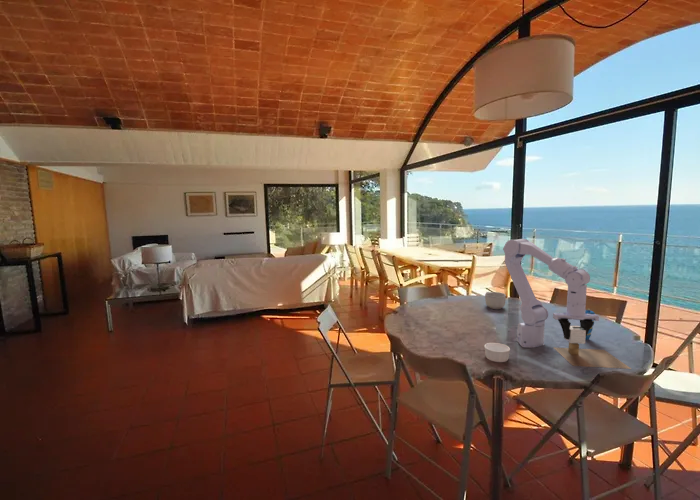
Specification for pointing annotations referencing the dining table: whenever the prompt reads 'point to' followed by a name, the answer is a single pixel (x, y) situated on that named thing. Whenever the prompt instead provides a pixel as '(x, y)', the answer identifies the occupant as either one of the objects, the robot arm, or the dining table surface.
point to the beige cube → (576, 335)
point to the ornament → (592, 326)
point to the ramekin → (496, 352)
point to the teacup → (495, 300)
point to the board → (590, 357)
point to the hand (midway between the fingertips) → (574, 338)
